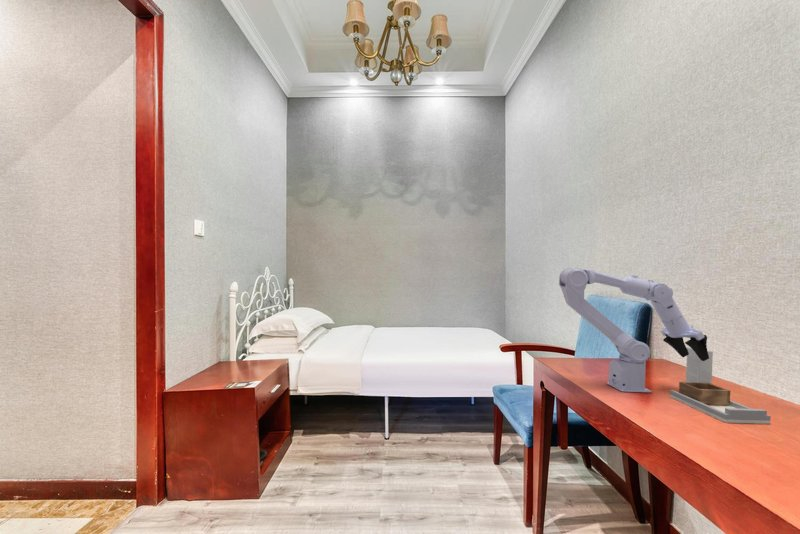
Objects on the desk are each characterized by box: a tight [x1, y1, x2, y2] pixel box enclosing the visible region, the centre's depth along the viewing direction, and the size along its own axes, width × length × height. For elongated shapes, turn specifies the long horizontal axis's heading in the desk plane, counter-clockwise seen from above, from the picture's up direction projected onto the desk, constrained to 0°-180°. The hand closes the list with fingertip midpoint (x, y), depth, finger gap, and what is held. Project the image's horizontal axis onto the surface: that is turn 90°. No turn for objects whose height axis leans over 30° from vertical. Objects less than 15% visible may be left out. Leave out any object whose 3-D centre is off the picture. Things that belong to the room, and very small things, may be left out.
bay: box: [669, 389, 771, 425], centre depth 101 cm, size 12×18×3 cm, turn 2°
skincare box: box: [685, 346, 714, 384], centre depth 123 cm, size 6×4×12 cm
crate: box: [678, 381, 731, 405], centre depth 105 cm, size 9×7×4 cm
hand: (695, 357), depth 114 cm, fingers open, 7 cm apart
